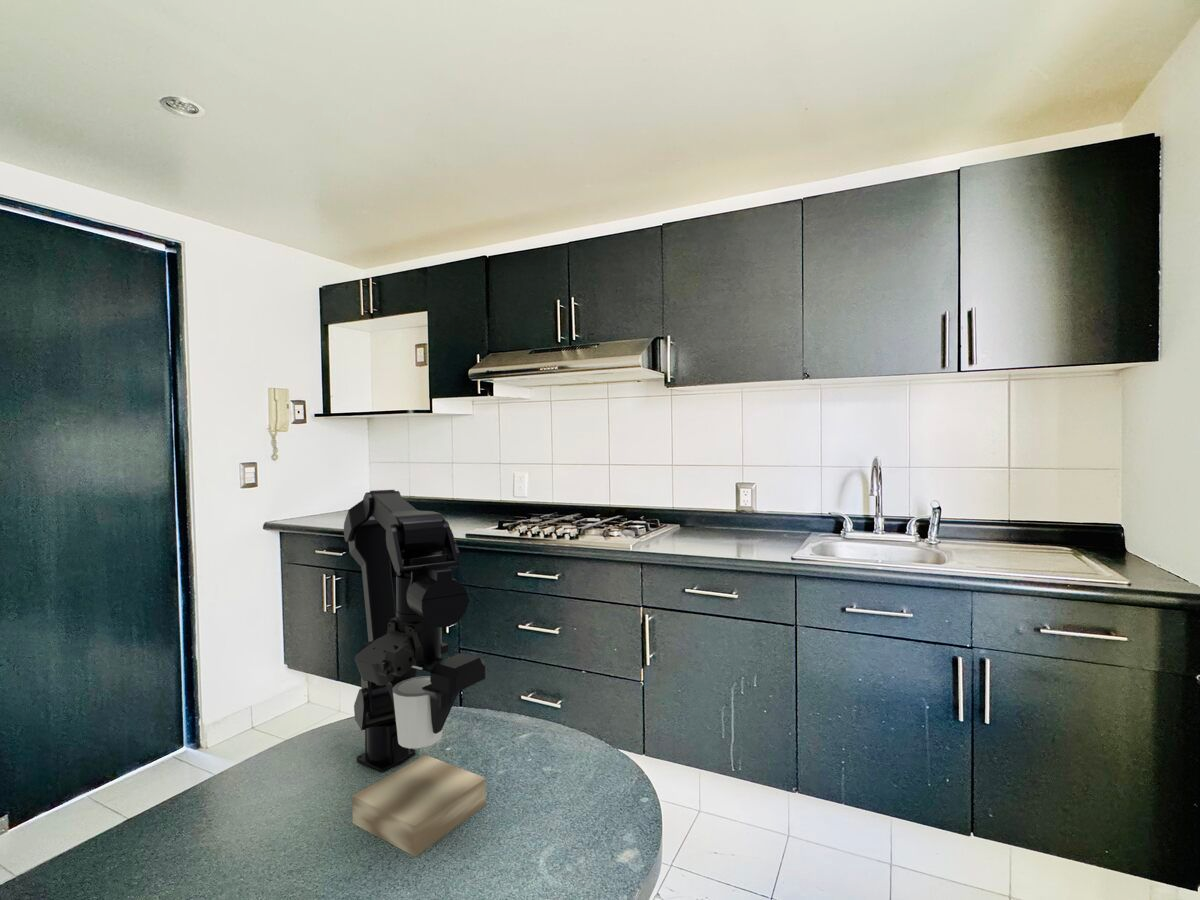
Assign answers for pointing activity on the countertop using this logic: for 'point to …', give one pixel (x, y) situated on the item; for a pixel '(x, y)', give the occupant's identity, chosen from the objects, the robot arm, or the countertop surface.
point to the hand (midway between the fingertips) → (420, 726)
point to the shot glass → (414, 713)
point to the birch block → (419, 803)
